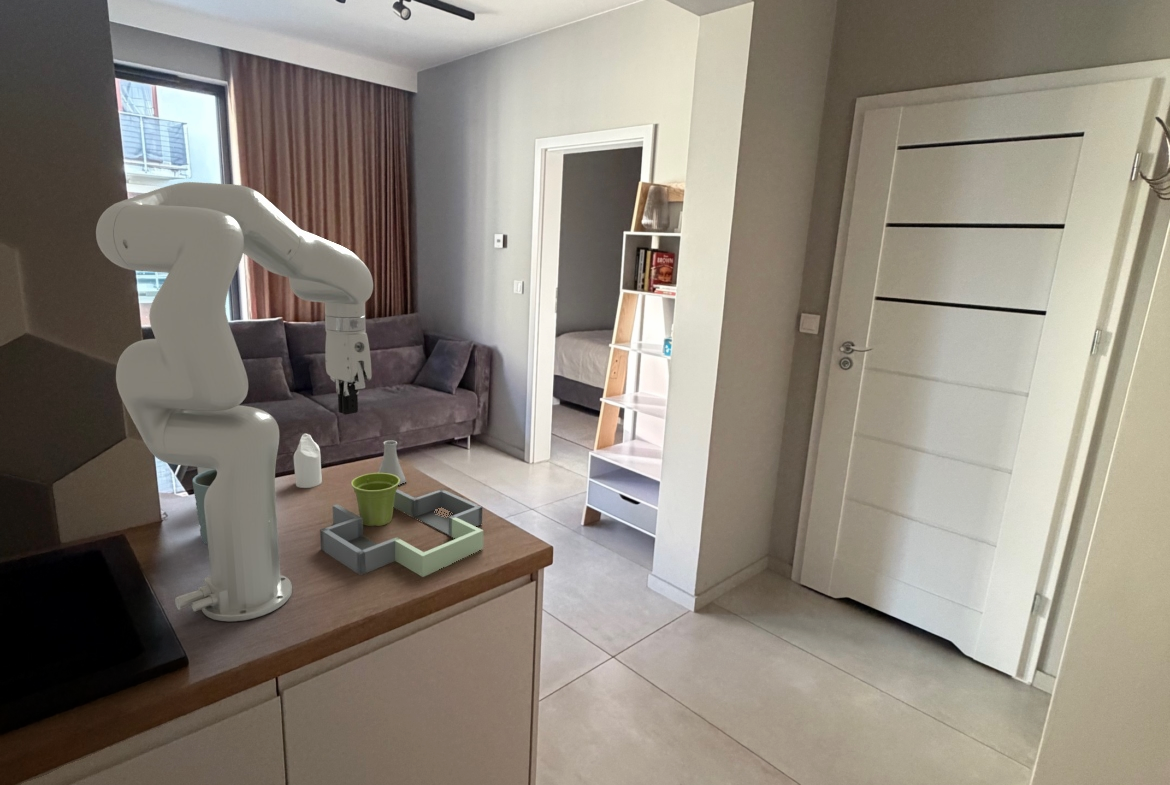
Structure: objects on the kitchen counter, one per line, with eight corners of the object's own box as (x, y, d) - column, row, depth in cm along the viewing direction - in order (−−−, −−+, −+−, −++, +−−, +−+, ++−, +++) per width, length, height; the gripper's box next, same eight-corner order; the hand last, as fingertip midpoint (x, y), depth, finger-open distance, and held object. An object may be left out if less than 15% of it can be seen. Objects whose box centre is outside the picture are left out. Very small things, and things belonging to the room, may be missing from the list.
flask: (412, 483, 147) (411, 444, 144) (382, 490, 142) (382, 449, 140) (398, 474, 152) (397, 435, 150) (369, 480, 147) (368, 440, 145)
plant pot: (410, 519, 128) (409, 480, 126) (373, 535, 121) (372, 494, 119) (379, 507, 133) (379, 469, 131) (342, 521, 125) (341, 482, 123)
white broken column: (308, 439, 137) (286, 436, 138) (310, 489, 140) (289, 486, 141) (325, 432, 143) (304, 429, 144) (327, 480, 146) (306, 477, 147)
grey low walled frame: (387, 593, 102) (387, 571, 101) (299, 535, 119) (298, 516, 118) (509, 537, 123) (509, 519, 122) (419, 495, 140) (419, 478, 139)
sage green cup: (192, 532, 117) (186, 473, 115) (250, 519, 124) (246, 462, 121) (205, 553, 110) (199, 491, 107) (266, 538, 117) (262, 479, 114)
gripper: (384, 328, 122) (385, 417, 126) (342, 318, 131) (344, 402, 135) (349, 330, 116) (352, 424, 120) (308, 320, 125) (312, 408, 129)
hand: (348, 412), depth 128 cm, fingers closed
